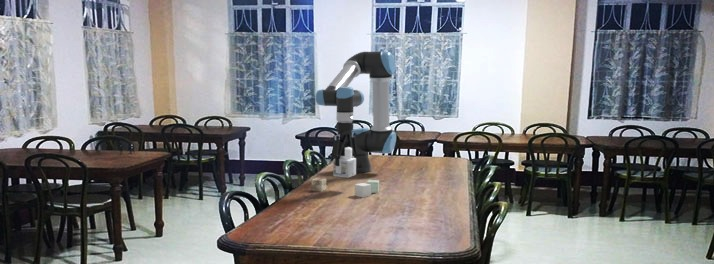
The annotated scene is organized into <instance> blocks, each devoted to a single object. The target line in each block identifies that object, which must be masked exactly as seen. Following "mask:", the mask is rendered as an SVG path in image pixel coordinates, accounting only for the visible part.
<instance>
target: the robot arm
mask: <svg viewBox="0 0 714 264" xmlns="http://www.w3.org/2000/svg"><path fill="white" fill-rule="evenodd" d="M395 72H396V61H395V58H394V56H393V54H392V53H391V52H390V51H385V50H384V51H379V50H378V51H360V52H357V53H355V54H353V56H350V57H349V58H348V59H347V60H346V61H345V62H344V63H343V66H342V69H341V70H340V71H339V73H338V74H337V75H336V76H335V77H334V78H333V80H332V81H331V82H330V83H329V84H328V86H327V87H326V88H325V89H324V88H323V89H318V90H317V91H316V93H315V102H316V104H317V105H319V106H323V107H336V131H337V134H336V135H335V134H334V135H333V137H332V138H333V142H332V143H333V144H332V150H331V151H332V153H331V158H332V159H335V166H336V173H341V159H340V157H341V153H342V150H343V147H345V145H346V147H351V148H352V157H351V158H356V174H357V173H359V174H360V173H370V172H371V171H372V165H371V161H370V158H369V153H373V154H374V153H375V154H391V153H393V151H394V150H395V147H396V142H397V133H396V132H395V131H393V127H391V125H390V80H391V79H392V76H393V75H394V74H395ZM360 75H369V80H371V81H372V117H373V118H372V119H373V120H372V124H373V125H372V126H371V127H370V129H369V128H368V127H361V128H360V127H359V128H354V107H355V108H356V107H359V106H361V105H363V103H364V101H365V96H364V94H363V91H361V90H358V89H354V88H353V87H352V86H349V85H350V84H351V83H352V81H353V80H354V79H355V78H357V77H359V76H360Z"/></svg>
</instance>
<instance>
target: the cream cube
mask: <svg viewBox="0 0 714 264" xmlns="http://www.w3.org/2000/svg"><path fill="white" fill-rule="evenodd" d="M354 196H356V197H358V198H362V197H363V198H366V197H367V196H368V197H372V193H371V185H370V184H367V182H361V183H355V184H354Z"/></svg>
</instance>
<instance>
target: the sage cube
mask: <svg viewBox="0 0 714 264" xmlns="http://www.w3.org/2000/svg"><path fill="white" fill-rule="evenodd" d="M366 184H370V185H371V194H379V191H380V180H379V179H367V181H366Z"/></svg>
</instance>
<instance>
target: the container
mask: <svg viewBox="0 0 714 264" xmlns="http://www.w3.org/2000/svg"><path fill="white" fill-rule="evenodd" d="M351 157H352V148H351V147H347V146H343V150H342V153H341V157H340V159H341V173H336V166H335V158H333V161H332V162H333V173H332V174H333V177H338V178H339V177H340V178H347V179H348V178H350V177H353V176H356V175H357V173H356V158H351Z"/></svg>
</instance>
